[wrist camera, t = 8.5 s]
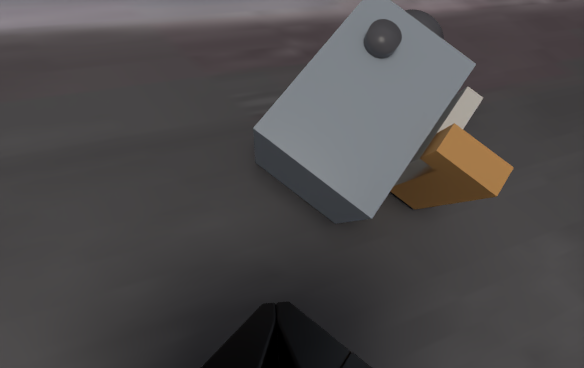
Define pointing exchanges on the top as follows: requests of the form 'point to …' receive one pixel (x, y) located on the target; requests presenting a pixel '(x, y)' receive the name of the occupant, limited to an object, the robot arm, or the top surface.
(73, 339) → the top surface
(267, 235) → the top surface
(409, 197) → the side door
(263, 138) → the grey knobbed box
